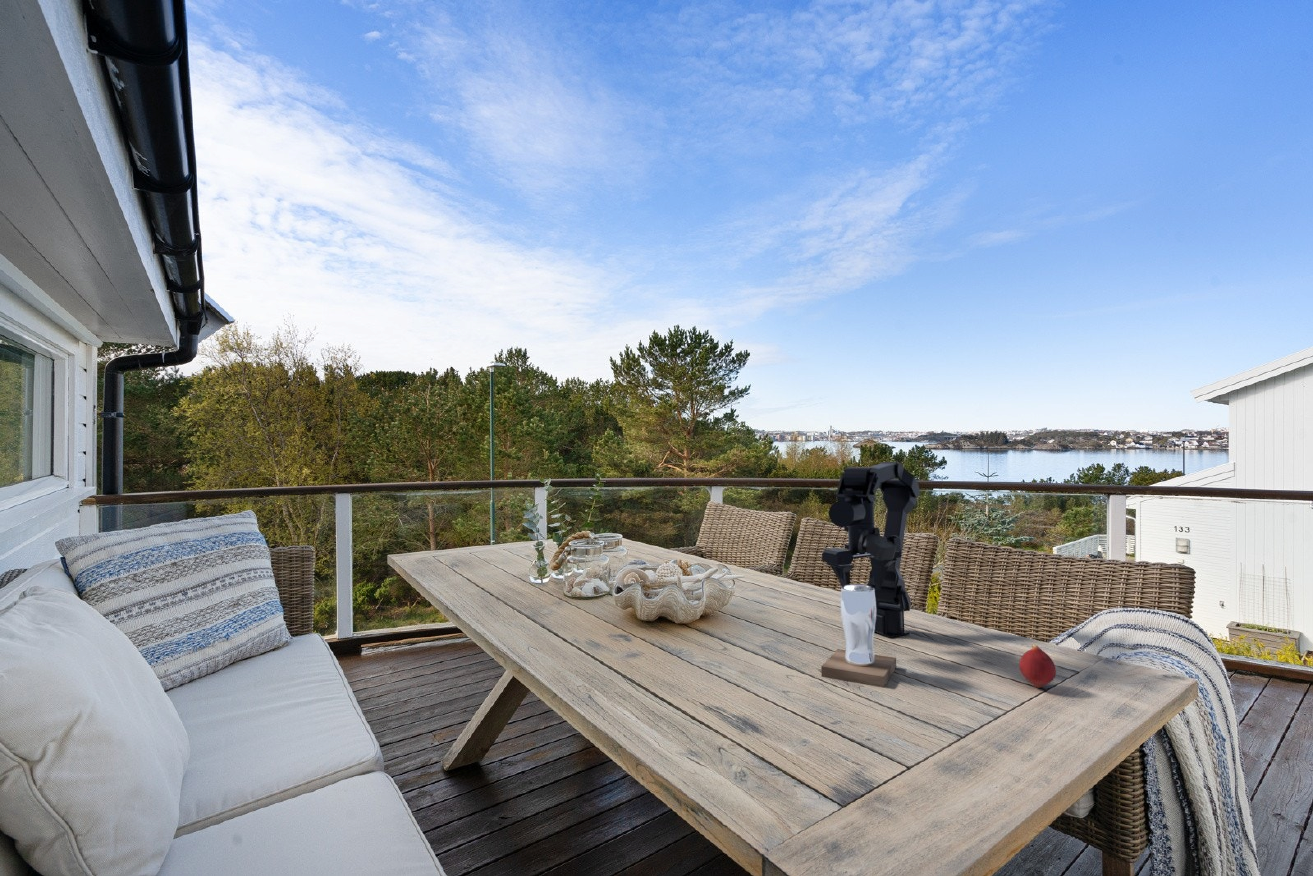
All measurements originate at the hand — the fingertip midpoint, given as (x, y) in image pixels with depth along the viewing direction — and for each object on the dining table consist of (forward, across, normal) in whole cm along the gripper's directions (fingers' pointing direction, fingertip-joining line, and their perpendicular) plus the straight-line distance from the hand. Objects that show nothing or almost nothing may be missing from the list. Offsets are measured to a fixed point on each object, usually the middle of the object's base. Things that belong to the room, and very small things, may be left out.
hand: (862, 591), depth 140 cm
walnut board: (+13, -11, -10) cm, 20 cm away
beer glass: (+11, -11, -10) cm, 18 cm away
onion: (+13, +12, -32) cm, 37 cm away
